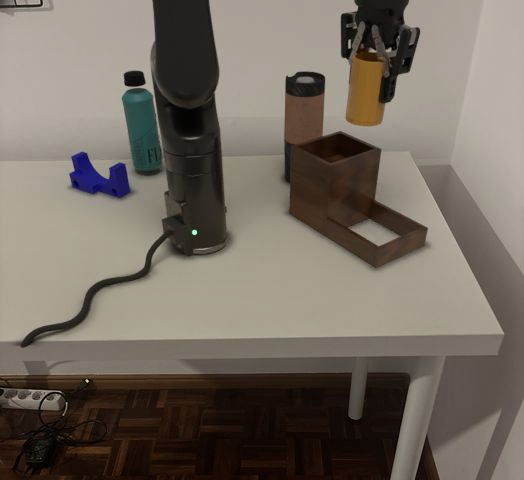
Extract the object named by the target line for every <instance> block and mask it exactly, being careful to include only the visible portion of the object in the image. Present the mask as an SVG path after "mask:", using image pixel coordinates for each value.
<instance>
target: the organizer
mask: <svg viewBox="0 0 524 480" xmlns="http://www.w3.org/2000/svg"><path fill="white" fill-rule="evenodd" d="M381 155H382V148H380V147H378V146H375V145H373V144H371V143H369V142H367V141H364V140H363V139H360V138H357V137H355V136H353V135H351V134H348V133H346V132H344V131H342V130H339V131H336V132H335V131H334V132H332V133H330V134H325V135H323V136H322V137H319V138H315V139H312V140H309V141H306V142H302V143H299V144H296V145H292V146H291V161H290V184H289V214H290V215H291V216H293V217H294V218H296V219H298V220H299V221H301V222H302V223H304V224H305V225H307V226H309V228H312V229H313V230H315V231H317V232H318V233H320V234H322V235H323V236H325V237H327V238H328V239H329V240H331V241H332V242H334V243H336V244H338V245H339V246H341V247H342V248H344V249H346V250H347V251H349V252H351V254H353V255H355V256H357V257H358V258H360V259H362V260H363V261H365V262H366V263H368V264H369V265H371V266H373V267H374V268H376V269H377V268H379V267H382V266H383V265H386V264H388V263H390V262H392V261H394V260H396V259H399V258H400V257H402V256H406V255H408V254H410V253H412V252H414V251H416V250H418V249H421V248H422V247H424V246H425V244H426V240H427V237H428V230H429V227H427V226H426V225H423V224H421V223H420V222H418V221H416V220H414V219H413V218H410V217H408V216H406V215H404V214H403V213H401V212H400V211H399V212H398V211H397V210H395V209H393V208H391V207H389V206H387V205H385V204H383V203H381V202H380V201H378V200H376V194H377V186H378V180H379V179H378V178H379V171H380V163H381ZM369 219H370V220H372V221H374V222H376V223H377V224H379V225H381V226H383V227H385V228H387V230H388V229H389V230H390V231H392V232H393V233H395V234H397V235H399V237H397V238H396V237H395V238H394V239H392V240H389V241H388V242H385V243H382V244H379V245H378V244H376V243H374V242H372V241H371V240H369V239H367V238H366V237H364V236H362V235H361V234H359V233H358V232H356V231H354V230H352V228H351V229H350V228H349V227H351V226H354V225H356V224H358V223H359V224H360V223H362V222H364V221H366V220H369Z"/></svg>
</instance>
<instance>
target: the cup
mask: <svg viewBox="0 0 524 480" xmlns="http://www.w3.org/2000/svg"><path fill="white" fill-rule="evenodd" d="M391 61H392V60H390V59H389V62H390V67H392V65H391ZM382 67H383V62H381V61H379V60H378V58H377V51H370V52H361V53H359V54H357V53H356V54H354V55H353V58H352V66H351V75H350V74H349V75H350V83H349V82H348V93H347V100H346V107H345V108H346V109H345V116H344V118H345V121H346V122H347V123H349V124H351V125H354V126H360V127H375V126H376V127H377V126H379V125H382V123H383V120H384V117H385V116H384V115H385V109H386V103H385V104H382V103H380V102H379V101H378V100H379V93H380V86H381V78H382V77H383V72H382Z"/></svg>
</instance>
